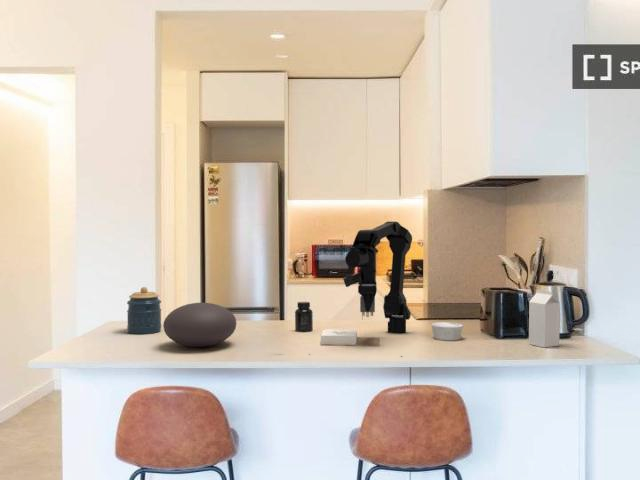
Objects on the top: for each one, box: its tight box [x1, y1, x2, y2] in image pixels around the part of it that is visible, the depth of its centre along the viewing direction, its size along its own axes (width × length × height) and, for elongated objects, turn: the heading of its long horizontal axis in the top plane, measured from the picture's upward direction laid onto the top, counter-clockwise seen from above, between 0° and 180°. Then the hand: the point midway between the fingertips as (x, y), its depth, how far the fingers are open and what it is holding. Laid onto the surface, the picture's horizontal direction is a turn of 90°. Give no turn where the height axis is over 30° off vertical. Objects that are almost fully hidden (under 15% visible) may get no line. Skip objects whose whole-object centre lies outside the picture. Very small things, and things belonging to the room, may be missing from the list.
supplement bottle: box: [294, 301, 314, 333], centre depth 233 cm, size 7×7×12 cm
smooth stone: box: [162, 302, 237, 348], centre depth 209 cm, size 25×25×15 cm
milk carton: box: [528, 289, 561, 348], centre depth 209 cm, size 7×7×19 cm
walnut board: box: [319, 336, 381, 348], centre depth 211 cm, size 20×16×1 cm
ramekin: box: [431, 321, 464, 342], centre depth 222 cm, size 11×11×5 cm
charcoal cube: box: [359, 295, 376, 318], centre depth 210 cm, size 5×5×7 cm
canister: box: [126, 286, 162, 335], centre depth 236 cm, size 13×13×18 cm
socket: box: [320, 329, 358, 345], centre depth 211 cm, size 12×12×3 cm
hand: (367, 310), depth 210 cm, fingers closed on charcoal cube, 5 cm apart
